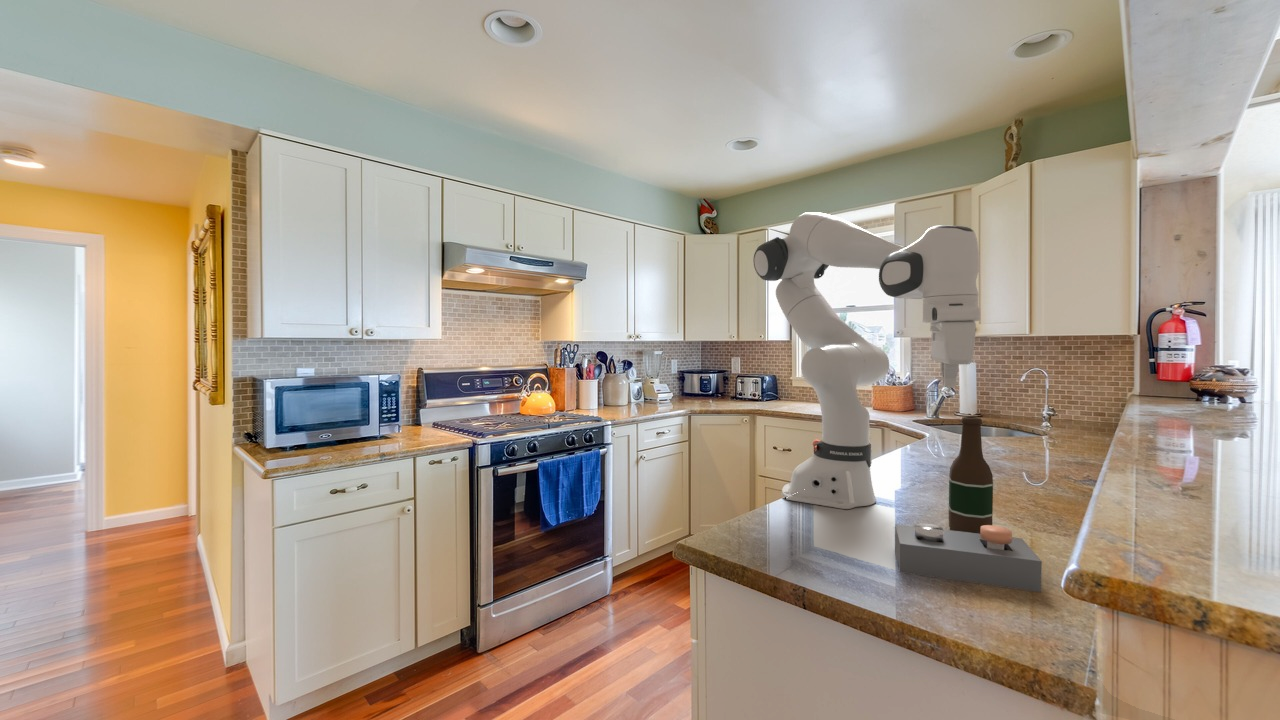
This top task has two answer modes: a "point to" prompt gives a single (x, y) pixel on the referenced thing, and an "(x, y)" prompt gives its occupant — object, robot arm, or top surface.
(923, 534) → the grey mushroom plug
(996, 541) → the mushroom push button
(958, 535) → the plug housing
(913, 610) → the top surface
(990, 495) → the beer bottle
